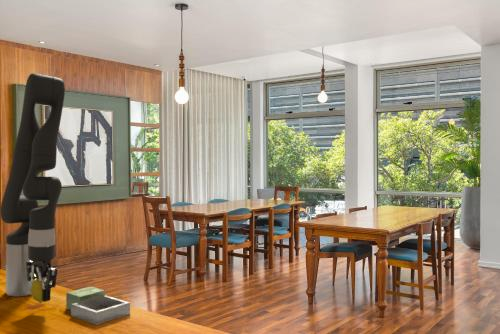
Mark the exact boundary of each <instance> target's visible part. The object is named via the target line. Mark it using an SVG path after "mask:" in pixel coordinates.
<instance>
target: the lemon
mask: <svg viewBox="0 0 500 334" xmlns="http://www.w3.org/2000/svg"><path fill="white" fill-rule="evenodd" d="M45 284H46V281H45ZM42 289H43V288H42V283H41V282H40V281H39V278H38V279H36V280H35V281H34V282H33V284H32V287H31V295H30V296H31V298H32V299H33V300H34V301H36V302H38V303H39V304H42V303H44V301H42ZM50 293H52V292H51V291H50Z"/></svg>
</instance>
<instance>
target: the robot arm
mask: <svg viewBox="0 0 500 334" xmlns="http://www.w3.org/2000/svg"><path fill="white" fill-rule="evenodd" d="M25 83H26V84H25V89H24V95H23V103H22V112H21V118H20V123H19V127H18V132H17V136H16V140H15V146H14V150H13V155H12V163H11V166H10V167H11V168H10V172H9V176H8V180H7V184H6V186H5V190H4V194H3V196H2V199H1V204H0V218H1V220H2V221H3V223H4V224H12V225H13V224H20V225H19V227H18V228H16V229H15V230H14V231H12V232H10V233H8V234H7V235H6V238H5V239H6V240H5V244H6V245H5V246H6V248H5V249H6V251H5V254H6V257H5V258H6V264H5V293H6V295H7V296H8V297H25V296H32V295H31V287H32V284H33V282H34V281H35V280H36V279H38V278H39V281H40V282H41V283H42V288H43V289H42V301H43V303H46V302H50V301H51V292H50V291H51V290H52V289H53V288H56V285H57V275H58V268H57V267H54V268H53V267H52V260H54V258H55V257H56V231H55V230H56V228H55V223H56V219H55V218H56V209H57V205H58V201H59V199H60V195H61V193H62V189H63V187H62V186H63V185H62V182H61V180H60V178H58V177H56V176H39V174H41V173H42V172H45V171H46V172H47V171H51V170H54V169H55V168H56V165H57V153H58V151H57V150H58V149H57V146H58V136H59V131H60V126H61V120H62V114H63V109H64V108H63V107H64V101H65V92H66V87H65V86H66V85H65V82H64V80H63V79H62V78H59V77H55V76H51V75H46V74H41V73H36V72H32V73H30V74H29V75H28V77H27V80H26V82H25ZM36 105H42V106H48V107H51V109H50V114H49V116H48V118H47V119H46V121H45V122H44V124H43V125H42V126H41V127H40V125H39V123H38V119H37V117H36V109H35V108H36ZM22 194H23V195H22ZM38 201H48V202H47V204H46V205H44V206H41V207H39V202H38ZM45 281H46V284H45Z"/></svg>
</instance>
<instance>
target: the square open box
mask: <svg viewBox="0 0 500 334" xmlns="http://www.w3.org/2000/svg"><path fill="white" fill-rule="evenodd" d="M105 294H106V290H104V289H101V288H98V287H95V286H87V287H83V288H79V289H75V290H71V291H67V292H66V293H65V295H66V296H65V297H66V300H65V303H66V304H65V309H67V310H69V311H70V316H71V317H73V318H76V319H79V320H82V321H85V322H87V323H89V324H92V325H96V326H97V325H101V324H103V323H107V322H109V321H112V320H116V319H119V318H121V317H125V316H129V315H130V314H131V302H130V301H126V300H122V299H120V298H116V297H112V296H109V295H105Z"/></svg>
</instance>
